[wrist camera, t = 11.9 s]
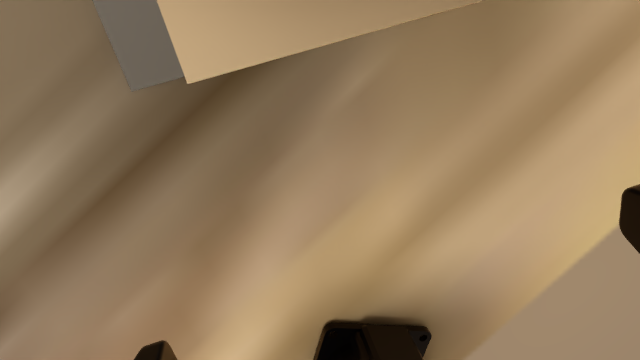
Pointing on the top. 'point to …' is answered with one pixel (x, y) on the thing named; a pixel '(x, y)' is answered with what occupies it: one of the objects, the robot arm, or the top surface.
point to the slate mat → (140, 41)
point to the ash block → (276, 28)
